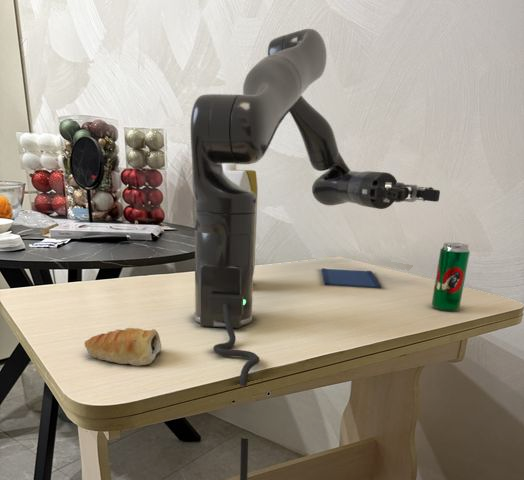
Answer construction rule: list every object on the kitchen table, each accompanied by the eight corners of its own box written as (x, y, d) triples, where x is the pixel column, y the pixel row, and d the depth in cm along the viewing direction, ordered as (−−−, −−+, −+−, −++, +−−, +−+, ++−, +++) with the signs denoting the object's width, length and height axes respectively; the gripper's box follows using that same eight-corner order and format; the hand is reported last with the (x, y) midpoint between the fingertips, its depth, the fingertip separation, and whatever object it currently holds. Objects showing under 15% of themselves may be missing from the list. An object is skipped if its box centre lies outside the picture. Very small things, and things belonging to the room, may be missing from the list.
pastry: (77, 362, 65) (75, 333, 64) (96, 345, 71) (95, 318, 70) (151, 367, 65) (150, 338, 63) (164, 349, 71) (164, 322, 70)
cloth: (380, 288, 112) (381, 285, 112) (324, 284, 112) (325, 282, 112) (370, 273, 127) (371, 271, 127) (321, 270, 127) (321, 268, 127)
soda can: (464, 310, 98) (476, 245, 93) (446, 313, 95) (458, 247, 91) (443, 303, 102) (453, 241, 97) (425, 306, 99) (435, 242, 95)
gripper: (346, 170, 111) (394, 174, 97) (400, 172, 116) (452, 176, 102) (342, 207, 113) (388, 215, 99) (395, 207, 119) (446, 215, 105)
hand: (421, 195), depth 101 cm, fingers open, 8 cm apart
